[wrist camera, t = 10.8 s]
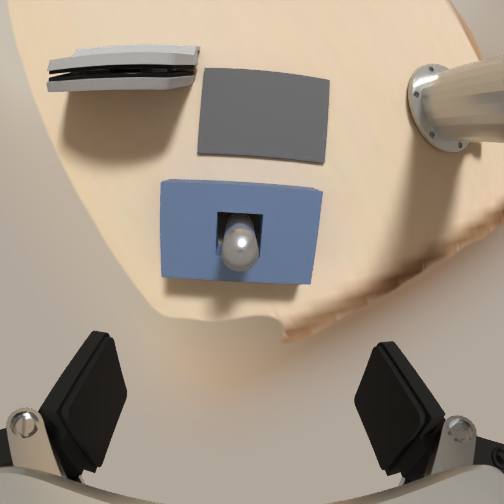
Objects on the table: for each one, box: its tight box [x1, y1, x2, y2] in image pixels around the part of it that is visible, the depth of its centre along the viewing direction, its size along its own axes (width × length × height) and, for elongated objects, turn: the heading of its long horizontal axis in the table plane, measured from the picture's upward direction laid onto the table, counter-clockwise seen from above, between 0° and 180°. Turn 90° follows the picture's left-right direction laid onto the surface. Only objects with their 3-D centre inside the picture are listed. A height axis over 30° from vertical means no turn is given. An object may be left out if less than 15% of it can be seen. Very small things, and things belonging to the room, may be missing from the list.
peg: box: [221, 213, 259, 271], centre depth 28 cm, size 3×3×10 cm
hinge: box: [47, 44, 200, 92], centre depth 22 cm, size 17×5×10 cm, turn 79°
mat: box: [197, 68, 330, 163], centre depth 28 cm, size 14×10×1 cm
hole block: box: [160, 179, 323, 284], centre depth 30 cm, size 16×10×4 cm, turn 86°
